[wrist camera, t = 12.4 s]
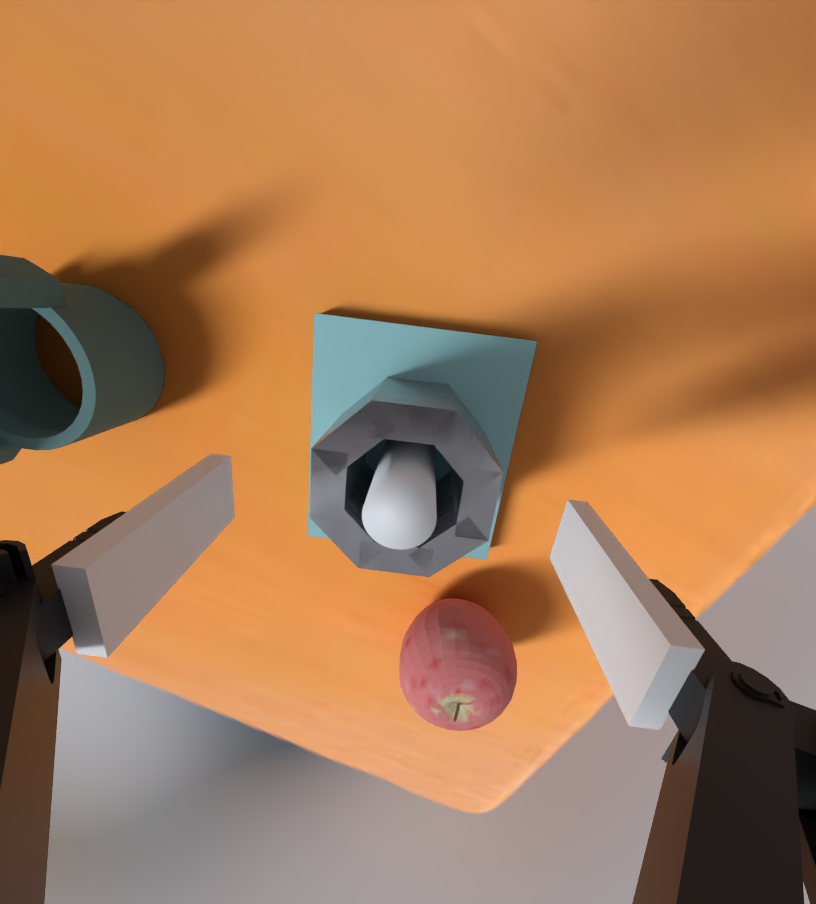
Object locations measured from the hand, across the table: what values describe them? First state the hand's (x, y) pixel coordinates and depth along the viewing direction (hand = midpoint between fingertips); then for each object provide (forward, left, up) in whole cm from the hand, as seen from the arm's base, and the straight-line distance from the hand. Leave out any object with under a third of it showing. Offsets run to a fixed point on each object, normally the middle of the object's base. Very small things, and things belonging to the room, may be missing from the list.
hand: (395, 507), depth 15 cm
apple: (+14, +5, -10) cm, 17 cm away
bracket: (-3, -20, -10) cm, 22 cm away
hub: (+1, 0, -8) cm, 8 cm away
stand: (0, 0, -9) cm, 9 cm away
